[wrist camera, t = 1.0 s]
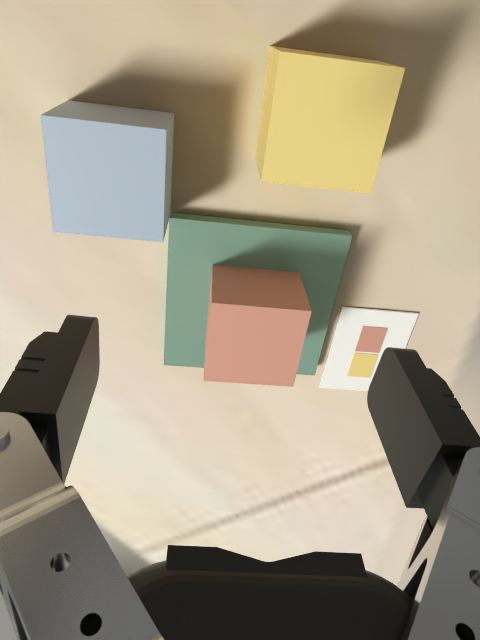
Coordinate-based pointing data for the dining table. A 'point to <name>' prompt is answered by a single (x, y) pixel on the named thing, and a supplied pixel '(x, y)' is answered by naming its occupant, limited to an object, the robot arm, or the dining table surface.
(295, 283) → the base brick
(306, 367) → the build plate
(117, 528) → the dining table surface
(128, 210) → the slate brick
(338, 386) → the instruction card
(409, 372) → the robot arm
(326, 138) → the mustard brick
